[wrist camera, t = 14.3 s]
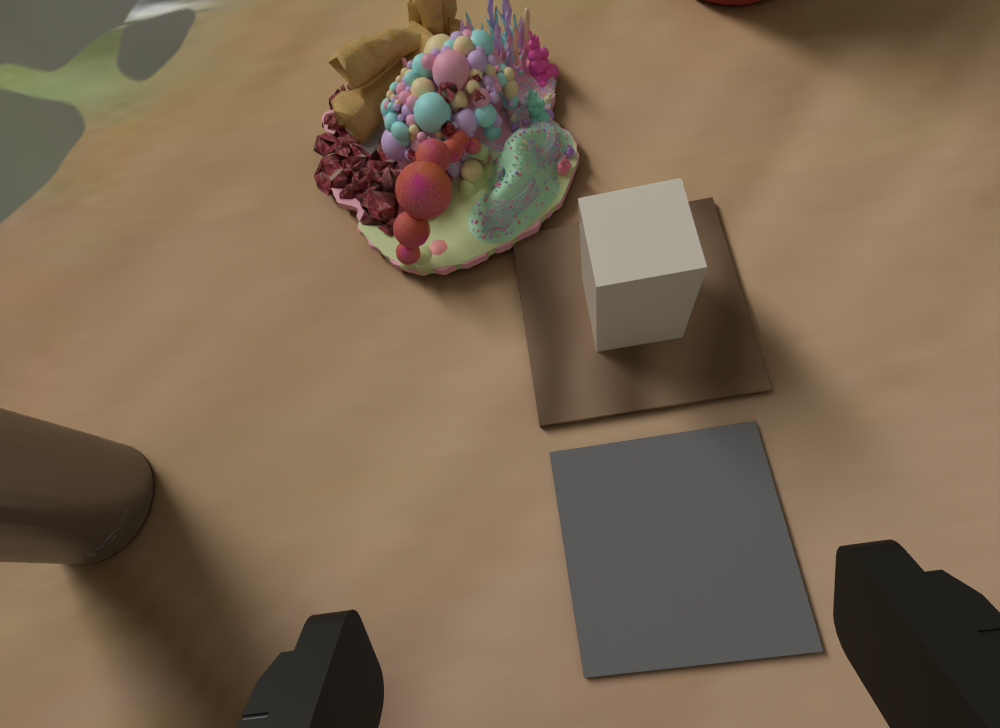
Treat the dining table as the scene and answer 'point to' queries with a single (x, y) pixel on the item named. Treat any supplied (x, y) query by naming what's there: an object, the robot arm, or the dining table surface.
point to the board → (640, 368)
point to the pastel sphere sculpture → (446, 138)
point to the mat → (679, 553)
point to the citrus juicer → (733, 2)
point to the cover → (639, 263)
